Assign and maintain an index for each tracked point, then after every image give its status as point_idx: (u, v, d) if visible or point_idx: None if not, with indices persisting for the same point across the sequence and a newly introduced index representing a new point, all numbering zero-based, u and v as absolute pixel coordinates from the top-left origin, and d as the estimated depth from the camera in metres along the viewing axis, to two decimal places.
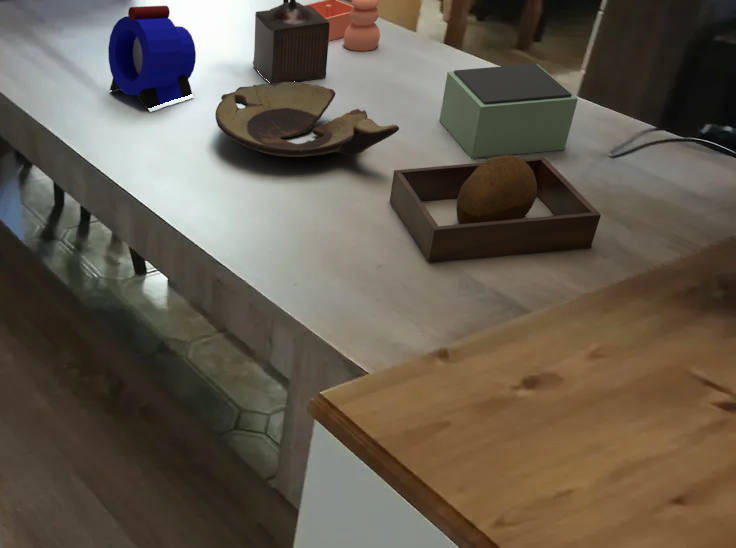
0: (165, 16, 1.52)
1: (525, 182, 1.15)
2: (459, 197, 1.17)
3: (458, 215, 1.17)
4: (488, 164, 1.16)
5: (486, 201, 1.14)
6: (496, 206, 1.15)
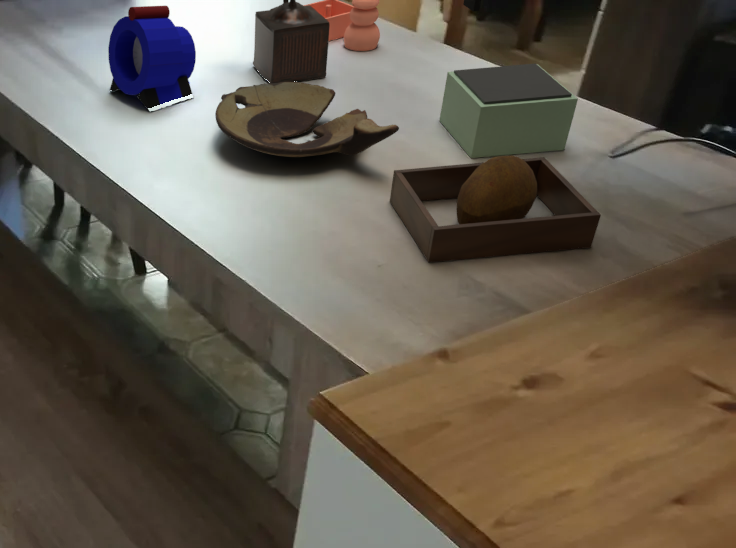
0: (165, 16, 1.52)
1: (525, 183, 1.15)
2: (459, 197, 1.17)
3: (458, 215, 1.17)
4: (488, 164, 1.16)
5: (486, 201, 1.14)
6: (496, 206, 1.15)
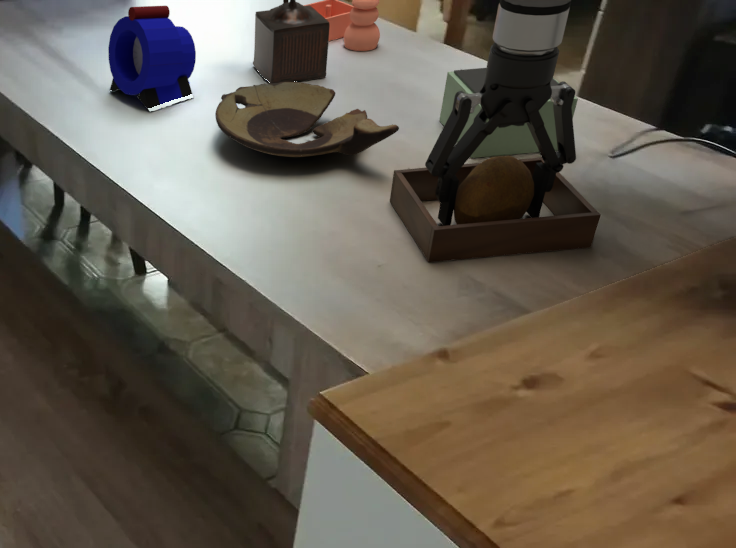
0: (165, 16, 1.52)
1: (522, 183, 1.15)
2: (456, 197, 1.17)
3: (455, 215, 1.17)
4: (485, 164, 1.16)
5: (483, 201, 1.14)
6: (493, 206, 1.15)
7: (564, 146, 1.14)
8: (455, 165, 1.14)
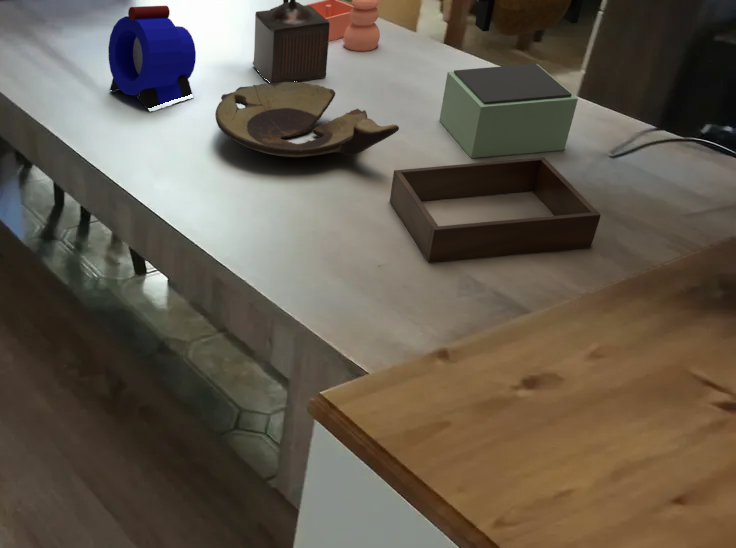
0: (165, 16, 1.52)
1: None
2: None
3: (495, 15, 1.15)
4: None
5: None
6: (534, 1, 1.13)
7: None
8: None
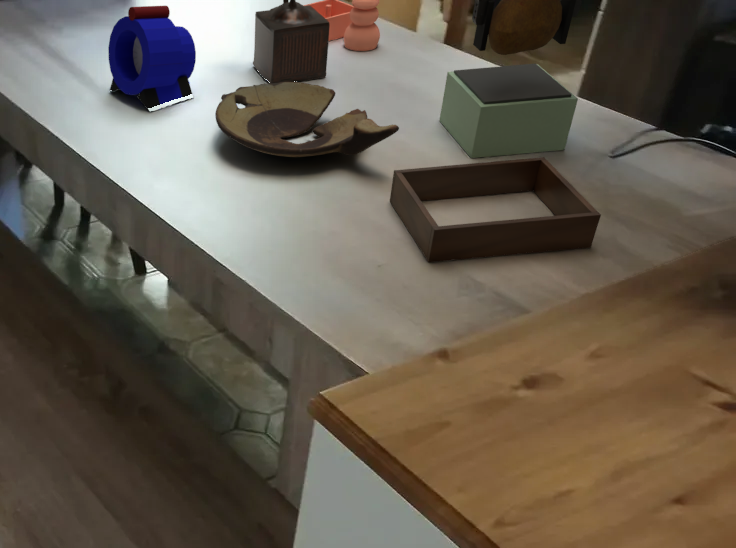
0: (165, 16, 1.52)
1: (552, 4, 1.27)
2: (491, 19, 1.28)
3: (490, 36, 1.28)
4: None
5: (517, 18, 1.25)
6: (526, 24, 1.26)
7: None
8: None
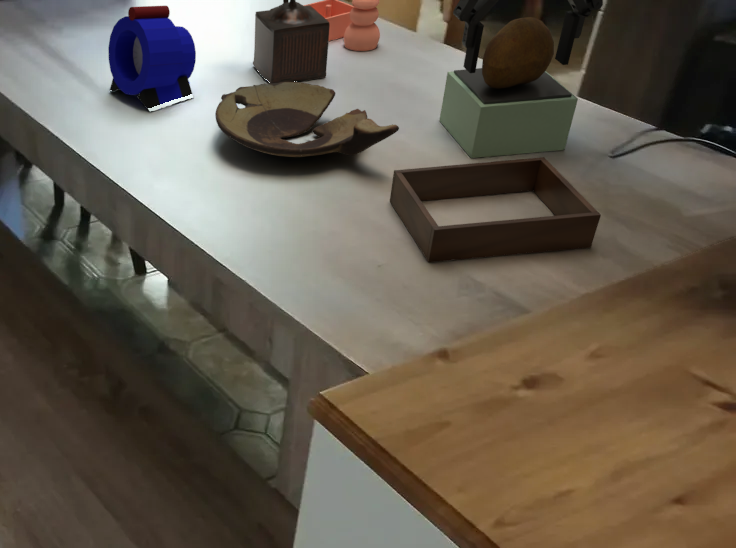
0: (165, 16, 1.52)
1: (544, 40, 1.30)
2: (485, 55, 1.31)
3: (484, 71, 1.31)
4: (510, 24, 1.30)
5: (509, 55, 1.28)
6: (518, 60, 1.29)
7: None
8: (482, 11, 1.27)
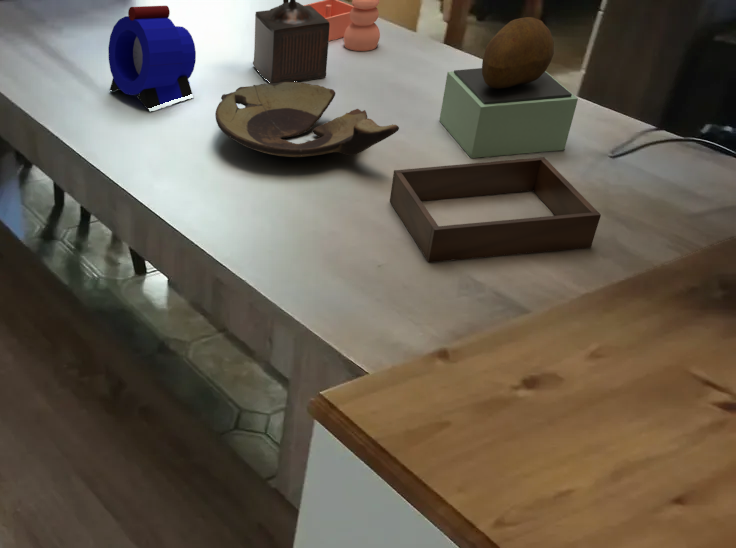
0: (165, 16, 1.52)
1: (544, 40, 1.30)
2: (484, 55, 1.31)
3: (484, 71, 1.31)
4: (510, 24, 1.30)
5: (509, 55, 1.28)
6: (518, 60, 1.29)
7: None
8: None
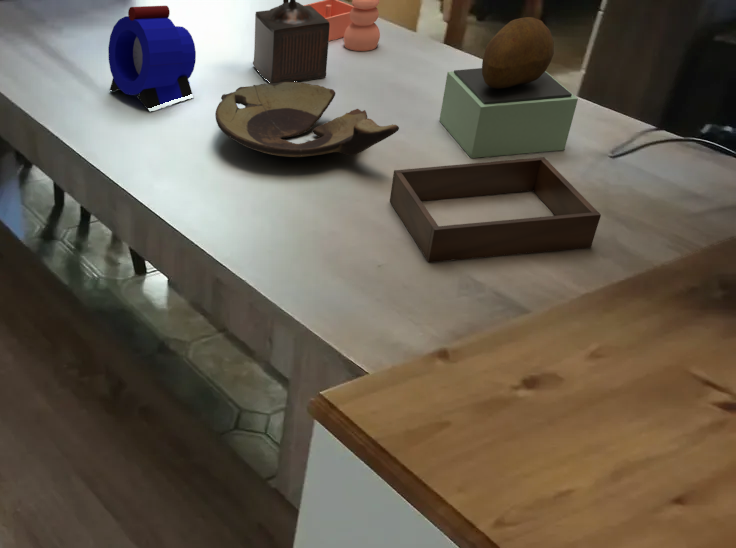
0: (165, 16, 1.52)
1: (544, 40, 1.30)
2: (484, 55, 1.31)
3: (484, 71, 1.31)
4: (510, 24, 1.30)
5: (509, 55, 1.28)
6: (518, 60, 1.29)
7: None
8: None
